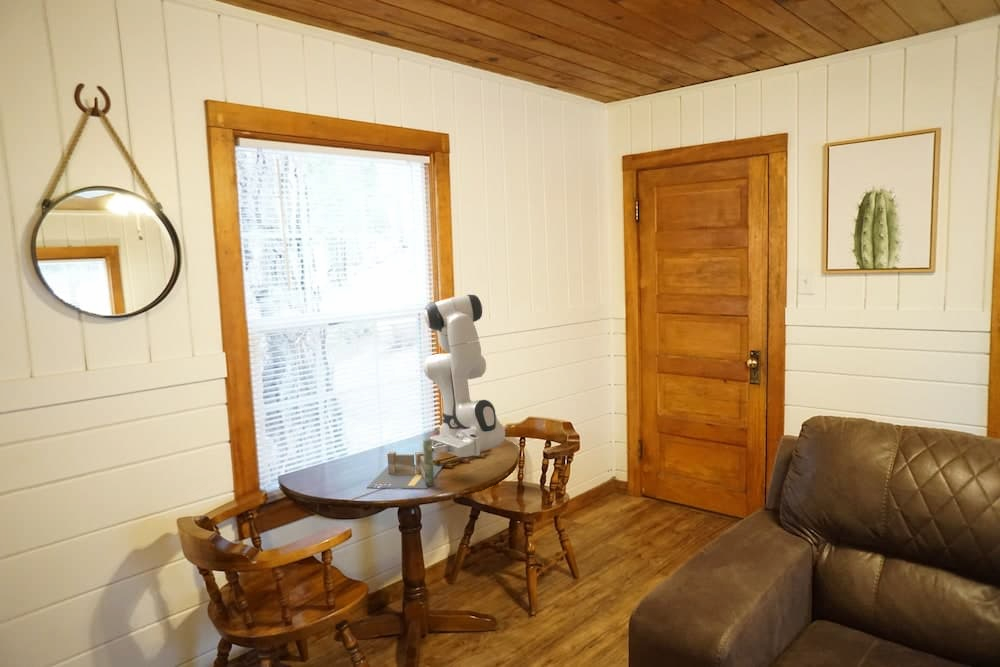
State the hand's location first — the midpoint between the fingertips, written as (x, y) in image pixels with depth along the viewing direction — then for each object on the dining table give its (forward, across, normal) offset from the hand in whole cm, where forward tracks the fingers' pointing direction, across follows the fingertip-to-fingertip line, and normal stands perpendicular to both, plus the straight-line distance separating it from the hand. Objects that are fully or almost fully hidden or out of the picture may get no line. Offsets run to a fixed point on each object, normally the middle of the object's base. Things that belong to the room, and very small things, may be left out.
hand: (432, 449), depth 228 cm
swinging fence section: (-1, -7, +12) cm, 14 cm away
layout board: (+2, -15, +12) cm, 19 cm away
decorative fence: (-24, -18, +12) cm, 33 cm away
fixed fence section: (+2, -19, +12) cm, 22 cm away
